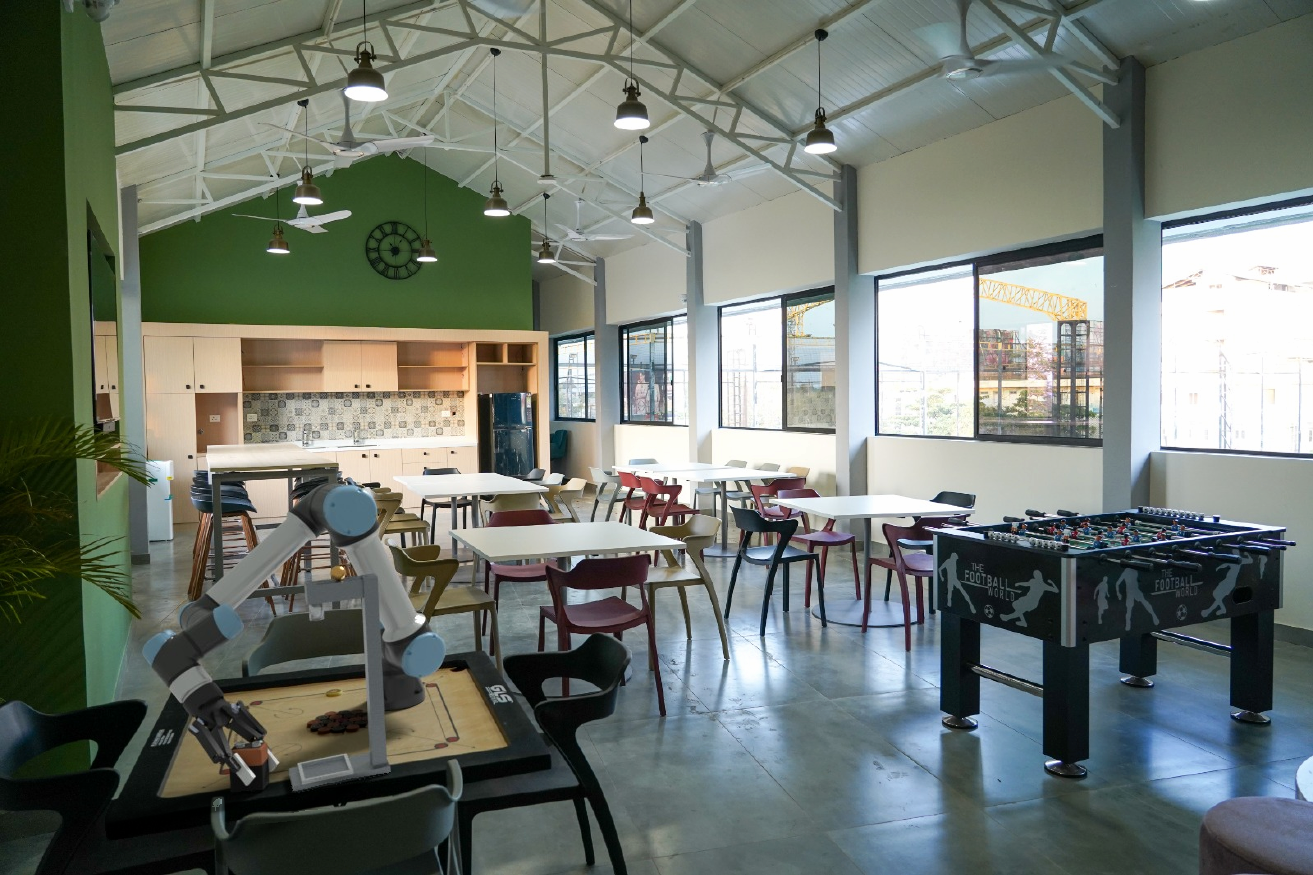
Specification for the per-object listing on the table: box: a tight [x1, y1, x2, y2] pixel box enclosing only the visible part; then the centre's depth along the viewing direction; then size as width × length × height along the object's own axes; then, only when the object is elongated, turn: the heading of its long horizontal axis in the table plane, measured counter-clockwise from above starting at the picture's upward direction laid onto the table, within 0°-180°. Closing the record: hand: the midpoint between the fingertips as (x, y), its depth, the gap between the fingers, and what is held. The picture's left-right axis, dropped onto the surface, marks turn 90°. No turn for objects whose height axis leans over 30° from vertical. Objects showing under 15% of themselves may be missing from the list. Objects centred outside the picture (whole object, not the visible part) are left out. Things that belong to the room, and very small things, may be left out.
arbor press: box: [288, 565, 392, 792], centre depth 199 cm, size 10×20×46 cm, turn 116°
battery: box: [228, 740, 270, 793], centre depth 194 cm, size 4×7×10 cm, turn 94°
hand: (263, 774), depth 193 cm, fingers closed on battery, 6 cm apart
